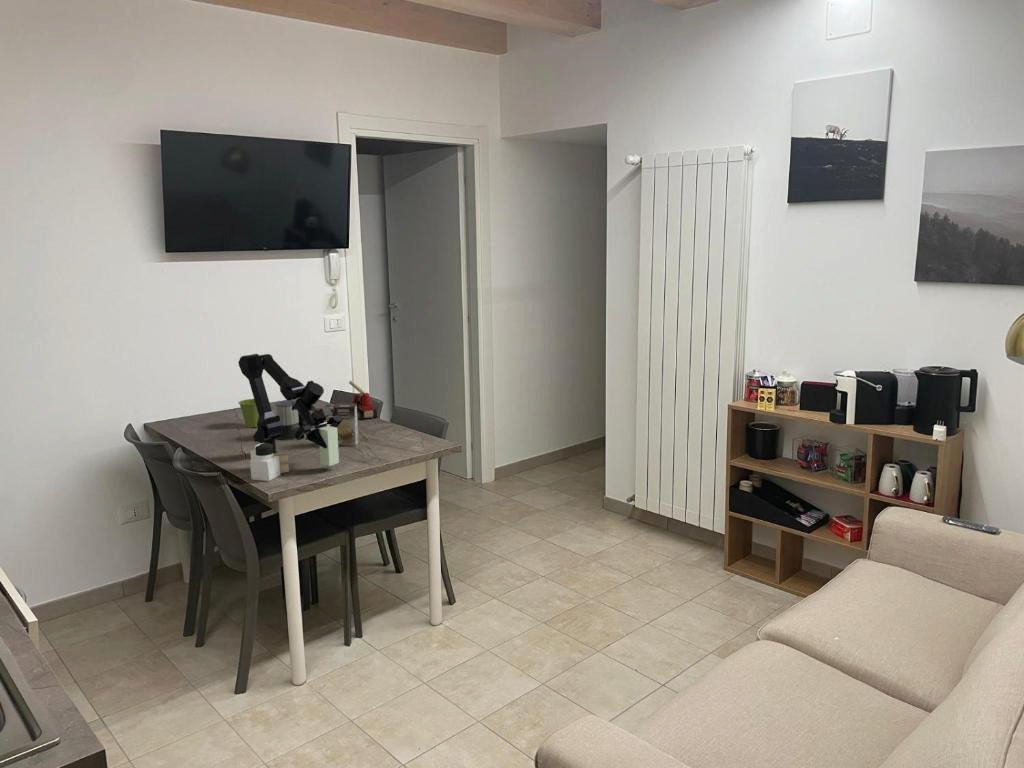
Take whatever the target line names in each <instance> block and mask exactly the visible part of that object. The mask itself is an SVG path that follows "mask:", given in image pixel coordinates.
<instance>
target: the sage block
mask: <svg viewBox="0 0 1024 768" xmlns="http://www.w3.org/2000/svg"><path fill="white" fill-rule="evenodd" d="M319 434H320V435H321V437H322V438H323V440H324V442H325V443H326V445H327V448H326V449H325V448H323V447H321V446H319V445H318V446H319V447H318V448H319V459H320V460H319V462H320V463H319V464H320V465H324V466H328V467H331V466H334V465H337V464H339V463H340V458H339V457H340V453H339V452H340V451H339V446H338V433H337V428H336V427H331V426H326V427H323V428H319Z"/></svg>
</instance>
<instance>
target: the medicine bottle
mask: <svg viewBox="0 0 1024 768" xmlns="http://www.w3.org/2000/svg"><path fill="white" fill-rule="evenodd" d="M254 449H255V457H256V458H254V459H252V460H251V459H250V460H249V465H250V475H251V480H252V481H263V482H270V481H273V480H274V479H276V478H278V477H280V476H281V473H280V462H279V456H273V455H274V454H273V445H272V444H270V443H261V444H260V443H258V444H256V445H255V446H254Z"/></svg>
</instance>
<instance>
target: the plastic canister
mask: <svg viewBox="0 0 1024 768" xmlns="http://www.w3.org/2000/svg"><path fill="white" fill-rule="evenodd" d="M249 452H250V460H252V459H254V458H256V457H255V448H253V449H251V450H249Z"/></svg>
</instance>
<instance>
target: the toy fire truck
mask: <svg viewBox="0 0 1024 768" xmlns="http://www.w3.org/2000/svg"><path fill="white" fill-rule="evenodd" d="M348 384H349V385H350V386H352V387H353V388H354V389H355V390H356V391H357V392H358V393H354V396H353V400H352V404H357V420H358V421H361V420H364V419H369V418H372V419H376V418H377V417H378V412H377V409H376V408H375V406H374V405H373V404H372V401H371V397H370V396H371V395H370V393H369V392H365V391H364V390H363V388H360V387H359V386H358V385H357V384H356V383H355V382H354V381H353V380H349V382H348Z"/></svg>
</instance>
